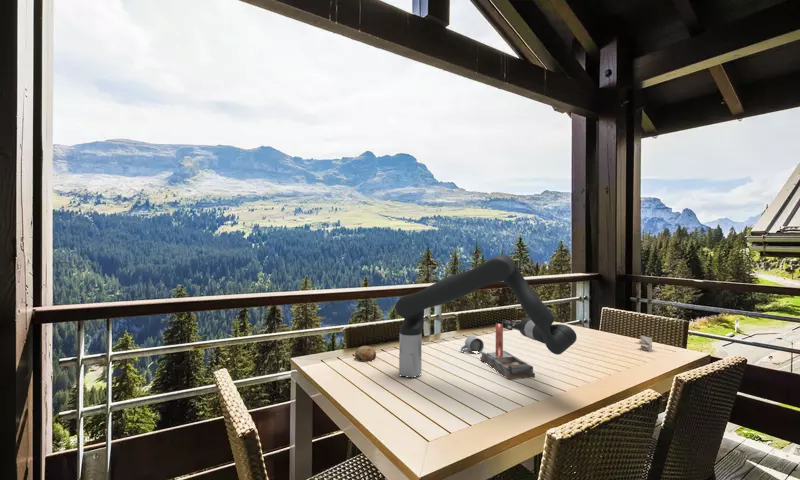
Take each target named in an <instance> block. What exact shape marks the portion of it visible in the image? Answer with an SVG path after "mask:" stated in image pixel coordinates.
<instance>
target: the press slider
mask: <svg viewBox="0 0 800 480" xmlns="http://www.w3.org/2000/svg"><path fill="white" fill-rule="evenodd" d="M503 351H504V328H503V324H502V323H495V351H494V352H486V354H488V355H489V356H491V357H493V358H494V359H496V360H497V361H499V362H501V363H510V362H512V356H510V355H508V354H506V353H505V352H503Z"/></svg>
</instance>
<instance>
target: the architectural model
mask: <svg viewBox="0 0 800 480" xmlns="http://www.w3.org/2000/svg"><path fill="white" fill-rule="evenodd" d="M652 339H653V338H652V337H649V336H645V335H640V339H639V341H638V342H634V344H635V345H638V346H640V350H643V351H645V352H649V353H652V352H653V342H652V341H653V340H652Z"/></svg>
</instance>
